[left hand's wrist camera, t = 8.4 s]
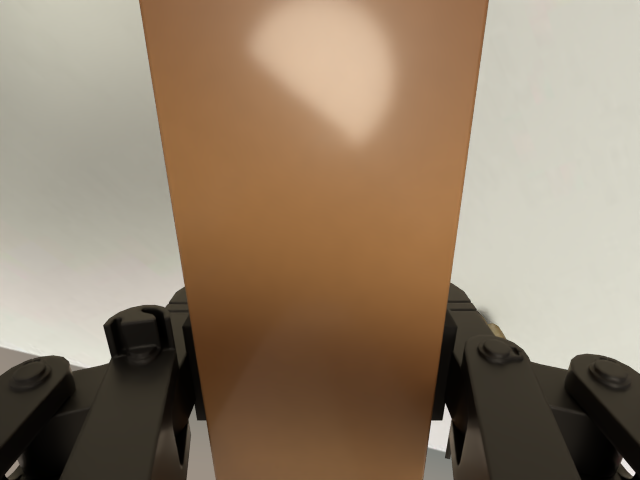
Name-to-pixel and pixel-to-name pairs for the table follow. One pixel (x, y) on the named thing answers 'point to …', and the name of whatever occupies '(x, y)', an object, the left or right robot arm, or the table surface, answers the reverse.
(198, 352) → the beam
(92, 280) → the table surface
